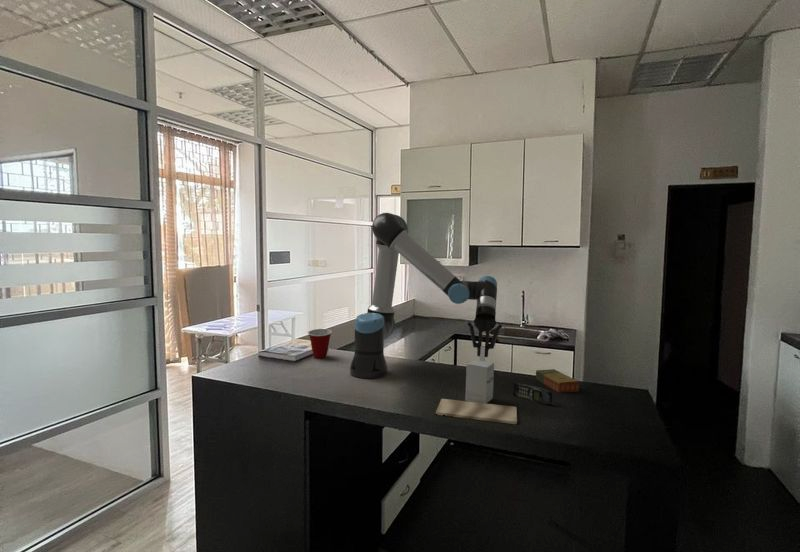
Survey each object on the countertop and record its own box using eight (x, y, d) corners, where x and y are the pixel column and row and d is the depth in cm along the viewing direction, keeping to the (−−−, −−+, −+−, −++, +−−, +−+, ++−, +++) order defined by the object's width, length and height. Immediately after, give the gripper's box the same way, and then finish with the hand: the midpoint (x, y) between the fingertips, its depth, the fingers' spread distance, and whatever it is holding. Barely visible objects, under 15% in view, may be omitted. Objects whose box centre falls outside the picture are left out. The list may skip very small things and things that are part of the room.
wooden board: (435, 414, 129) (435, 412, 129) (441, 400, 140) (441, 398, 140) (516, 424, 123) (517, 421, 123) (516, 409, 134) (516, 406, 134)
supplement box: (485, 405, 137) (487, 367, 136) (464, 400, 141) (465, 363, 140) (493, 399, 143) (494, 362, 142) (473, 394, 147) (474, 358, 146)
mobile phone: (512, 382, 147) (553, 392, 136) (517, 380, 149) (558, 390, 138) (512, 396, 147) (553, 407, 136) (517, 394, 149) (557, 405, 138)
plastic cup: (303, 359, 188) (304, 332, 187) (312, 353, 199) (313, 328, 198) (327, 360, 186) (327, 334, 185) (334, 354, 197) (335, 329, 196)
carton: (558, 393, 151) (558, 382, 151) (534, 380, 166) (535, 369, 166) (579, 392, 153) (579, 380, 152) (554, 378, 168) (554, 368, 168)
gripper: (502, 317, 165) (500, 371, 150) (469, 315, 168) (463, 367, 153) (503, 305, 159) (500, 360, 144) (468, 303, 163) (462, 356, 148)
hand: (481, 364), depth 149 cm, fingers closed
